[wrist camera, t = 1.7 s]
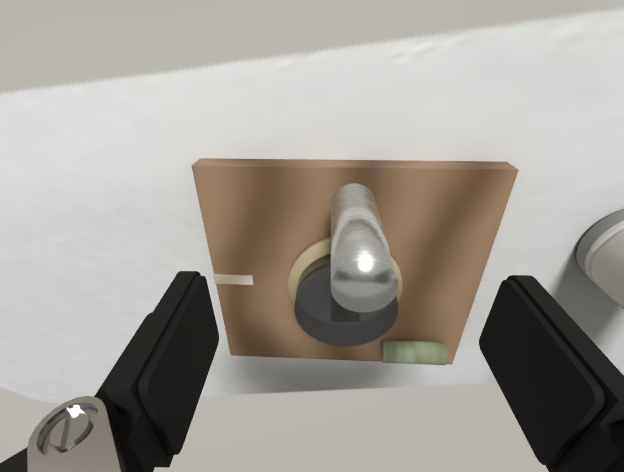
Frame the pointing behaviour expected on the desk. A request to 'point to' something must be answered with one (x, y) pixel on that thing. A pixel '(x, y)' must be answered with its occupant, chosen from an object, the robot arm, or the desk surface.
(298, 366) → the desk surface
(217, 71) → the desk surface
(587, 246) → the travel mug
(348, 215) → the grey rounded piece
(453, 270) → the base
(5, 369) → the desk surface
